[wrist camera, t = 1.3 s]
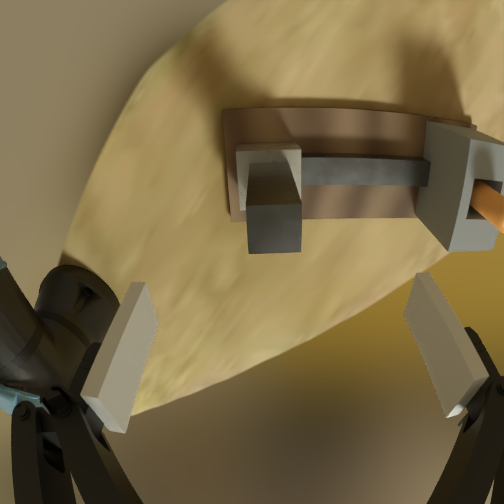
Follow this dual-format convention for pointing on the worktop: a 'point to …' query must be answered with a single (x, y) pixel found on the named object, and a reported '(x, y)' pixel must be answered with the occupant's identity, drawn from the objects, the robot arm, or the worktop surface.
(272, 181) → the carriage
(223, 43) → the worktop surface
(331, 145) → the base board
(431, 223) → the end cabinet
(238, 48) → the worktop surface
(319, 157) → the rail
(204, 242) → the worktop surface
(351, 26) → the worktop surface
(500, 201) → the button
